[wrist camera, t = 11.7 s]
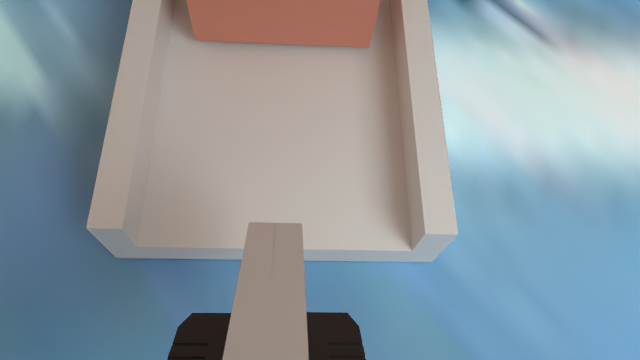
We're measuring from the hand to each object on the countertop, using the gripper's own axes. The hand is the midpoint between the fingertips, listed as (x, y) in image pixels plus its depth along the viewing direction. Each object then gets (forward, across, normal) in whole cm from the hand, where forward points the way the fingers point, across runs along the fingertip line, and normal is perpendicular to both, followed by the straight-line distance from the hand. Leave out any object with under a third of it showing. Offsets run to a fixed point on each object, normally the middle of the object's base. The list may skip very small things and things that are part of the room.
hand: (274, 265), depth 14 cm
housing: (+14, 0, +5) cm, 14 cm away
